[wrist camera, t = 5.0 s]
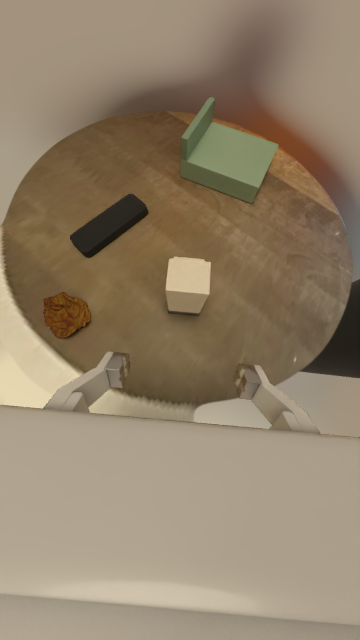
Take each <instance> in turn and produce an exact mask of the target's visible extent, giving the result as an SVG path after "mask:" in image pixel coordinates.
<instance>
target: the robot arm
mask: <svg viewBox="0 0 360 640" xmlns="http://www.w3.org/2000/svg"><path fill="white" fill-rule="evenodd" d="M237 369H238V370H237V371H235V374H234V382H235V385H236V386H237V387H238V388H237V392H238V395H239V398H240V399H249V400H252V402H253V403H254V404H255V405H256V407H257V408H258V409H259V410H260V411H261V413H262V414H263V415H264V416H265V417H266V418H267V420H268V421H269V422H270V423H271V424H272V426H271V427H270V429H261V428H250V427H238V426H228V425H217V424H206V423H195V422H184V421H173V420H162V419H151V418H140V417H129V416H118V415H107V414H96V413H90V411H89V409H88V407H89V406H90V405H92V404H93V403H94V402H95V401H96V400H97V399H98V398H99V397H101V396H102V395H103V394H104V393H105V392H106V391H107V390H108V389H110V387H118V388H123V385H124V383H125V380H126V378H125V376H127V375H128V373H129V370H130V361H129V354H127V353H118V352H107V353H106V354H105V355H104V357H103V358H102V360H101V361H100V363H99V365H98V366H97V368H93V369H92V370H90V371H88V372H87V373H85V374H83V375H82V376H80V377H78V378H77V379H75V380H73V381H72V382H70V383H68V384H67V385H65V386H63V387H62V388H60V389H58V390H57V392H56V393H55V394H54V395H53V397H52V398H51V399H50V400H49V402H48V403H47V404H46V406H45V407H44V408H43V409H40V408H30V407H18V406H8V405H0V640H360V437H350V436H338V435H328V434H320V432H319V430H318V429H317V427H316V426H315V424H314V423H313V421H312V419H311V418H310V416H309V415H308V414H307V412H305V410H303V409H302V408H301V407H300V406H298V405H297V404H296V403H295V402H293V401H292V400H291V399H290V398H289V397H287V396H286V395H285V394H283V393H282V392H281V391H280V390H279V389H277V388H276V387H275V386H274V385H272V384H270V383H269V381H268V379H267V377H266V375H265V373H264V371H263V369H262V368H261V366H260V365H249V364H238V366H237Z"/></svg>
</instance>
